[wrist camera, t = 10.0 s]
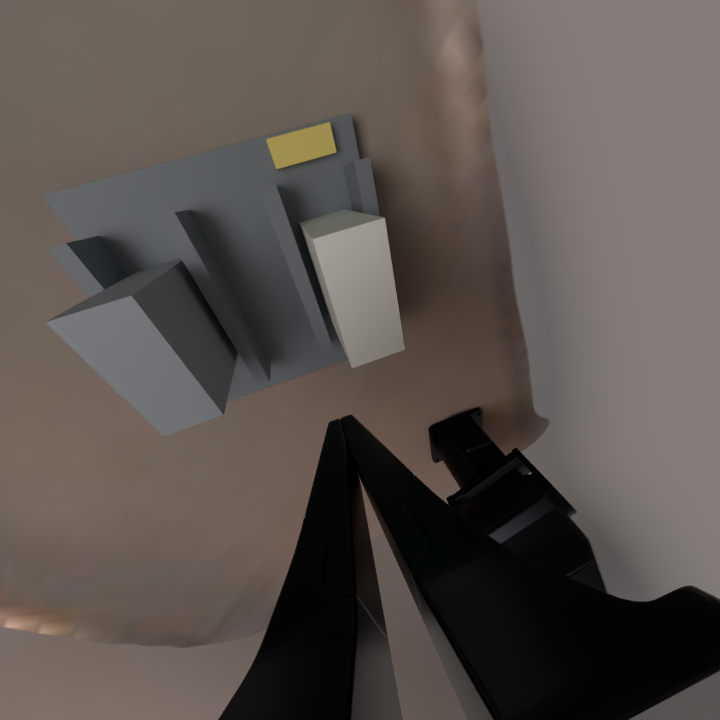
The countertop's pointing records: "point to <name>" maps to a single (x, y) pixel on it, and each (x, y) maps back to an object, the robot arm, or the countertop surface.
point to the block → (356, 282)
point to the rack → (208, 270)
